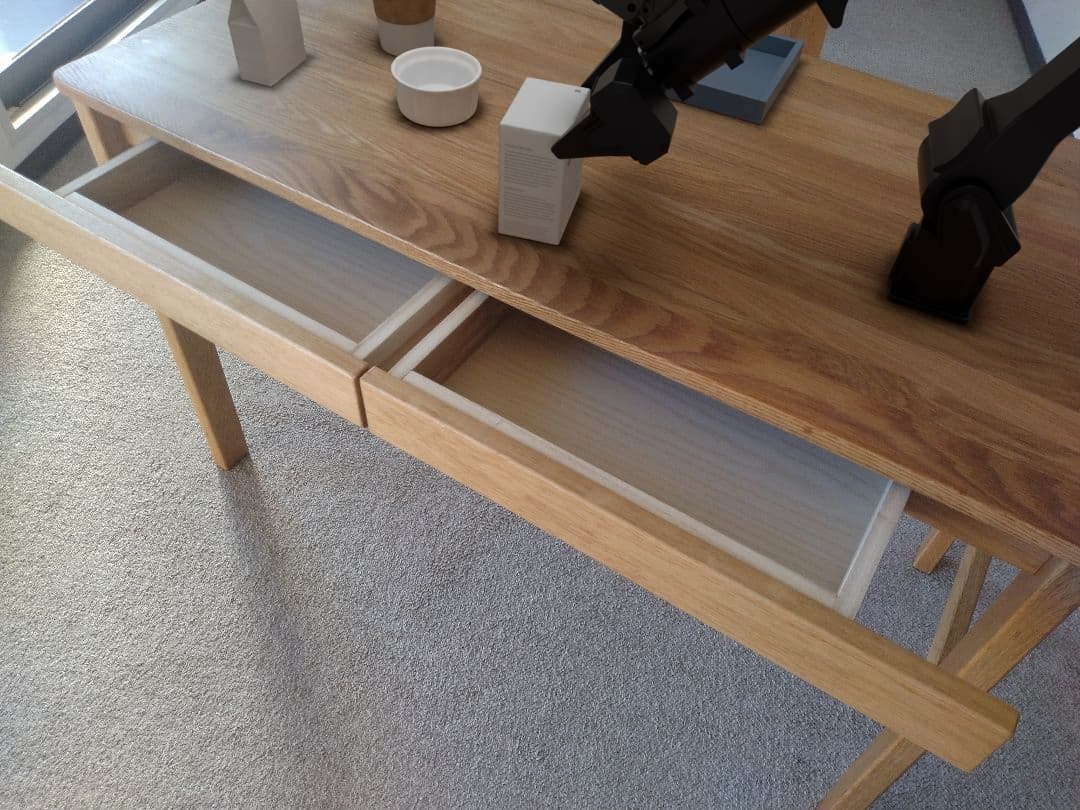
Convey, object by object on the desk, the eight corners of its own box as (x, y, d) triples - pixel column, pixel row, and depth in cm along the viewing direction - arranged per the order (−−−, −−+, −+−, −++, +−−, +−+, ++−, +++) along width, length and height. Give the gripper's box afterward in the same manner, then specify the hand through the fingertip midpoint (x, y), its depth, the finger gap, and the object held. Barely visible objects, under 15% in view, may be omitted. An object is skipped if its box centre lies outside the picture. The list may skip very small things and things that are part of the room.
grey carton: (306, 58, 91) (290, -39, 83) (271, 86, 86) (250, -14, 79) (277, 51, 91) (258, -46, 84) (240, 78, 87) (217, -22, 80)
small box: (522, 183, 77) (526, 74, 69) (581, 195, 76) (591, 86, 68) (495, 234, 72) (496, 122, 64) (558, 247, 71) (567, 135, 63)
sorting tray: (798, 62, 95) (805, 41, 94) (760, 124, 86) (766, 102, 84) (670, 29, 100) (674, 8, 98) (620, 85, 90) (623, 62, 88)
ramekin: (489, 91, 88) (489, 51, 85) (472, 136, 82) (471, 94, 79) (406, 81, 88) (403, 41, 85) (384, 125, 82) (379, 83, 79)
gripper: (688, -143, 60) (531, -8, 69) (645, -47, 48) (462, 101, 57) (770, -12, 65) (613, 97, 74) (750, 106, 52) (565, 218, 62)
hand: (568, 123), depth 67 cm, fingers open, 9 cm apart
